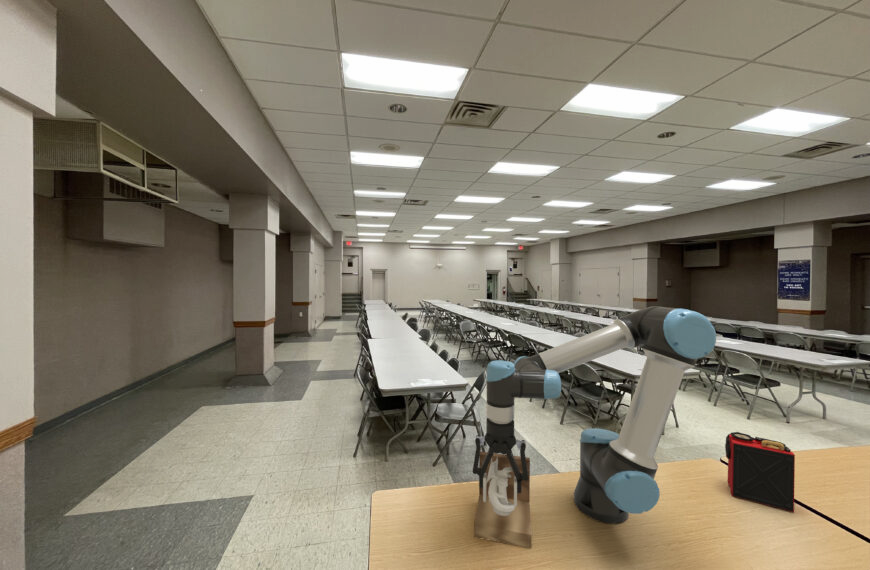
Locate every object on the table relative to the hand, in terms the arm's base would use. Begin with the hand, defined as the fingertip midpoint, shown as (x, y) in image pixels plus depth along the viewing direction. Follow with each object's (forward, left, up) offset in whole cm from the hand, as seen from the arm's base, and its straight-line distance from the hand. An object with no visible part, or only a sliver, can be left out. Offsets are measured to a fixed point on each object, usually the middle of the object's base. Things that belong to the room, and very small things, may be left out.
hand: (500, 500), depth 91 cm
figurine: (0, 0, -1) cm, 1 cm away
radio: (-81, -37, -9) cm, 89 cm away
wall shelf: (-1, -5, -9) cm, 10 cm away
